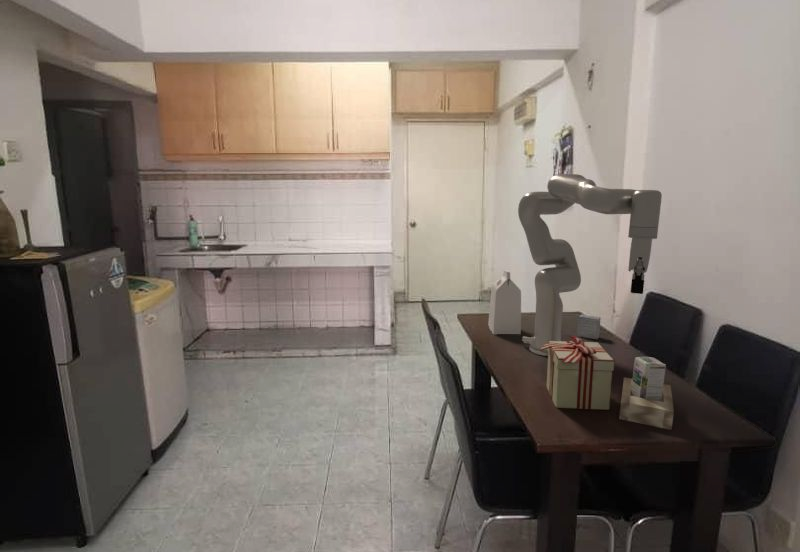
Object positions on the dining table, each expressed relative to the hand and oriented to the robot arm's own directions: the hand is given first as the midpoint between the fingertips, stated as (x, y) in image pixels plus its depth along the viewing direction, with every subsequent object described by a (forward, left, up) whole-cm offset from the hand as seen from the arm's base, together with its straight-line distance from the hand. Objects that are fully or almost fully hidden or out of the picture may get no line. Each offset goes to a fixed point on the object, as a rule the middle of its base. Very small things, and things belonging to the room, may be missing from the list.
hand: (636, 290), depth 138 cm
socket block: (+5, -16, -30) cm, 35 cm away
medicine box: (-16, +46, -31) cm, 58 cm away
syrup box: (+5, -16, -31) cm, 35 cm away
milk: (-49, +38, -31) cm, 69 cm away
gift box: (-14, -19, -31) cm, 38 cm away
